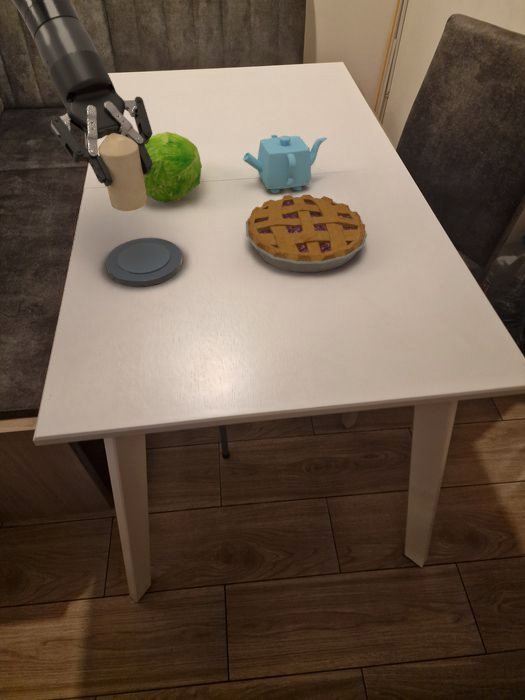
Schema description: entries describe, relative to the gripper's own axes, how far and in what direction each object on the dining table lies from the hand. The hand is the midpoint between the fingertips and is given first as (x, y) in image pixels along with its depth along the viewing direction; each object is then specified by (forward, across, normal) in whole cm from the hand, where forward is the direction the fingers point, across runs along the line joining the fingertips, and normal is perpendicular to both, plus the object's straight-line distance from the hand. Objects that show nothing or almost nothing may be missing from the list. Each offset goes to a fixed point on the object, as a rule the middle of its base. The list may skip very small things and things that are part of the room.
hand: (129, 177), depth 70 cm
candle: (+2, 0, +5) cm, 5 cm away
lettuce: (-4, +19, +29) cm, 35 cm away
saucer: (+10, +1, +14) cm, 18 cm away
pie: (+19, +28, +6) cm, 34 cm away
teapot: (+4, +40, +21) cm, 45 cm away
